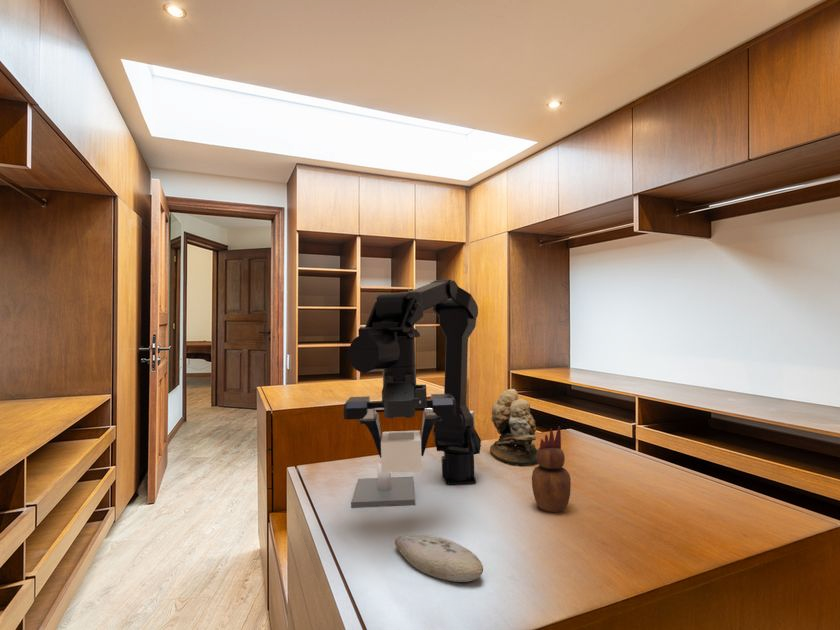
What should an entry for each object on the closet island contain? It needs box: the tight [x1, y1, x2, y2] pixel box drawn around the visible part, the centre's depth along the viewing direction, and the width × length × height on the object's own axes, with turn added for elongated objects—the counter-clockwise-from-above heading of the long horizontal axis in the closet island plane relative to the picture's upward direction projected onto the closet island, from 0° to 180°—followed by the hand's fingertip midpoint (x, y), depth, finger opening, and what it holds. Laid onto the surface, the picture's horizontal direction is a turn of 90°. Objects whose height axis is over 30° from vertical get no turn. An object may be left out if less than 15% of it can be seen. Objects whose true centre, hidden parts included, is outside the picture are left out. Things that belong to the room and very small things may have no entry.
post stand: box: [350, 461, 416, 509], centre depth 89 cm, size 12×12×6 cm
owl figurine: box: [489, 388, 539, 467], centre depth 110 cm, size 18×12×17 cm, turn 12°
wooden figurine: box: [531, 425, 572, 513], centre depth 80 cm, size 7×6×15 cm
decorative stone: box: [394, 534, 484, 583], centre depth 63 cm, size 6×16×3 cm, turn 53°
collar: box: [380, 429, 423, 474], centre depth 75 cm, size 7×7×5 cm
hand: (401, 456), depth 75 cm, fingers closed on collar, 7 cm apart
